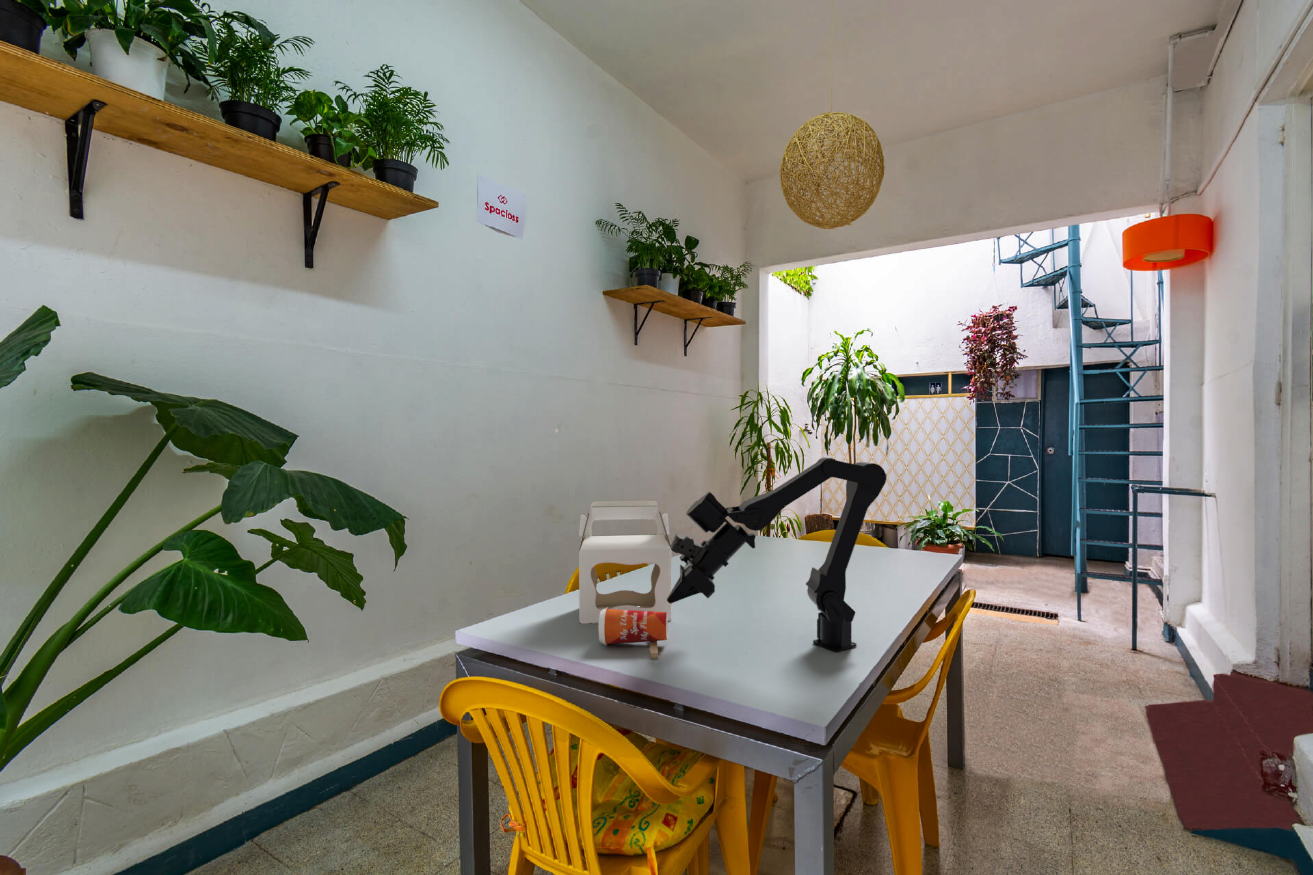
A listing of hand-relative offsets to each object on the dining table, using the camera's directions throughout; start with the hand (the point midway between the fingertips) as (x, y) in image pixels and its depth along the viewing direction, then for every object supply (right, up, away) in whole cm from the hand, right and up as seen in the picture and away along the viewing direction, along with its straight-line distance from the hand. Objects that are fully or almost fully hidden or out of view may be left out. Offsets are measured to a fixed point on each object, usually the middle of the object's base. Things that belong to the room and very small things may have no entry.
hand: (668, 601), depth 125 cm
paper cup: (0, -5, +1) cm, 5 cm away
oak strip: (-3, -10, 0) cm, 10 cm away
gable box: (-10, -10, +23) cm, 27 cm away
